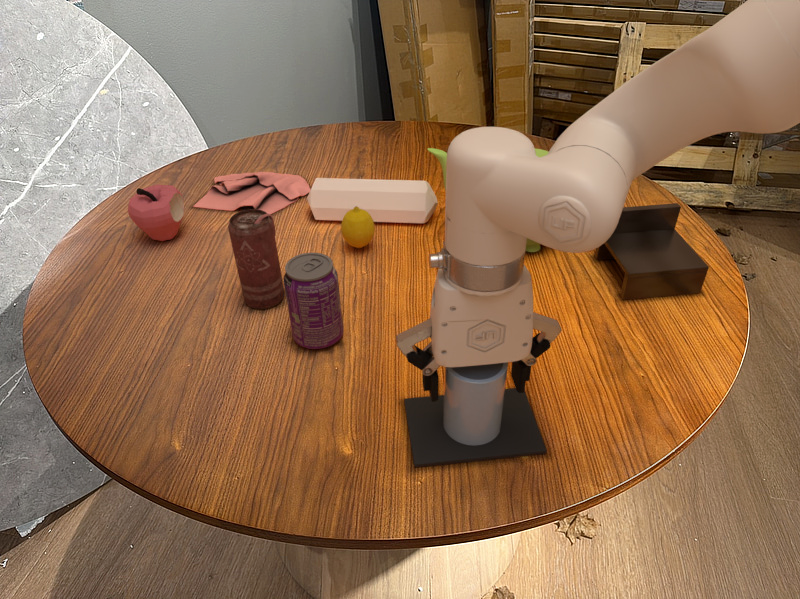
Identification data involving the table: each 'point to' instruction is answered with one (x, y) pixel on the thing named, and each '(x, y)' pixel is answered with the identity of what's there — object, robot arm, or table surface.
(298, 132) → the table surface
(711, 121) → the robot arm
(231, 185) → the cloth
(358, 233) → the fruit
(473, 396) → the blue cup
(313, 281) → the beverage can
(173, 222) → the apple
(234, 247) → the can
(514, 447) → the mat
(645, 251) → the shelf
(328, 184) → the crystal
